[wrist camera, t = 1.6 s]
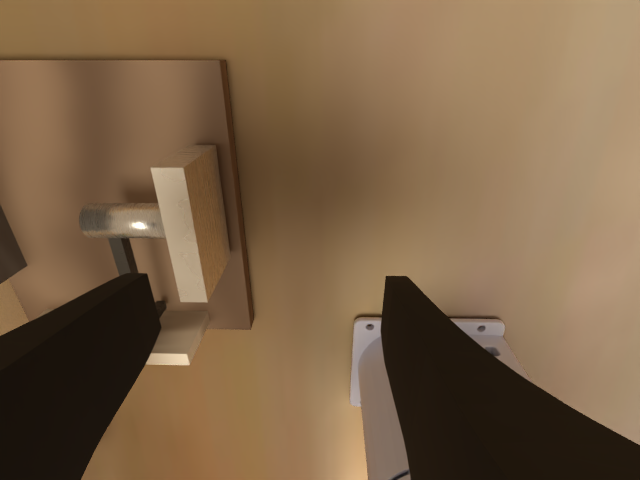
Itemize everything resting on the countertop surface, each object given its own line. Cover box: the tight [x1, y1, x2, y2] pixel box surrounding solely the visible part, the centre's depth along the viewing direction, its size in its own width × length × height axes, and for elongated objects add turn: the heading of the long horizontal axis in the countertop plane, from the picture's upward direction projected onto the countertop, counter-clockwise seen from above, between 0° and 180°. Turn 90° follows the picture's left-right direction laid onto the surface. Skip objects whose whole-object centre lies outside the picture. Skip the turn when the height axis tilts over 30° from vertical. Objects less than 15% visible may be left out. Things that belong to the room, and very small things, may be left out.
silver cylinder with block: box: [79, 145, 231, 319], centre depth 17 cm, size 6×10×4 cm, turn 0°
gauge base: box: [0, 60, 254, 365], centre depth 16 cm, size 14×15×7 cm
